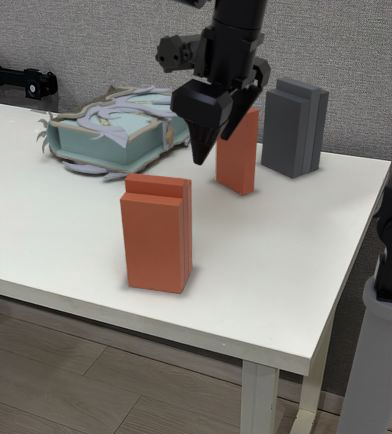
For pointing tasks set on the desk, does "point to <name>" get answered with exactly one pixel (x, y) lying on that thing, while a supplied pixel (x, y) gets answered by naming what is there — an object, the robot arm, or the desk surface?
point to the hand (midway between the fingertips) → (211, 151)
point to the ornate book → (116, 131)
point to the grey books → (294, 127)
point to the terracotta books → (157, 231)
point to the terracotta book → (238, 155)
